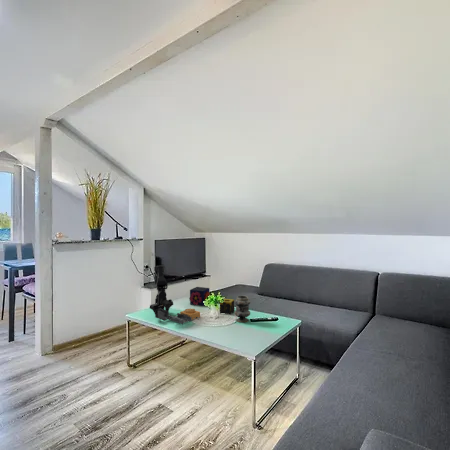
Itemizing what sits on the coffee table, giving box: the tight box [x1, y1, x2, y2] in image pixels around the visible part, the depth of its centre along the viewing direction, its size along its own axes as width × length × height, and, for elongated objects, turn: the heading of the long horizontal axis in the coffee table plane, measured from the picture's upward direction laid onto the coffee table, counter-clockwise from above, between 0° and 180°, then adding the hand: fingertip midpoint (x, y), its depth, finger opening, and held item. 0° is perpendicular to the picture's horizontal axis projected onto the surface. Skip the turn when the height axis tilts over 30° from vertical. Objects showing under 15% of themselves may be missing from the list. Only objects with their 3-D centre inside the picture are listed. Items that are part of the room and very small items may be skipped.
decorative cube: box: [189, 286, 211, 307], centre depth 276 cm, size 16×16×14 cm
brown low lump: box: [179, 307, 201, 320], centre depth 237 cm, size 12×10×6 cm
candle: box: [219, 298, 236, 315], centre depth 248 cm, size 10×10×10 cm
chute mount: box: [167, 312, 193, 325], centre depth 230 cm, size 16×10×3 cm, turn 48°
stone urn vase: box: [233, 295, 251, 323], centre depth 227 cm, size 12×12×18 cm
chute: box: [154, 309, 170, 321], centre depth 235 cm, size 11×5×6 cm, turn 48°
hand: (161, 315), depth 235 cm, fingers open, 9 cm apart
